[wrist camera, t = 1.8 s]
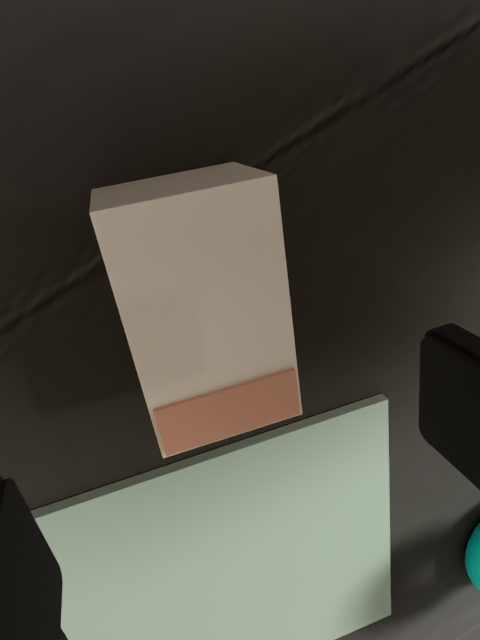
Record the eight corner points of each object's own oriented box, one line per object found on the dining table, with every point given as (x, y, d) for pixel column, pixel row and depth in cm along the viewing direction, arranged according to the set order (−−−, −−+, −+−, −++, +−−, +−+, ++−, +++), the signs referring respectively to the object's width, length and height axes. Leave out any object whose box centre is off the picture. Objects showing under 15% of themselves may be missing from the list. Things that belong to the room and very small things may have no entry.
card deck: (232, 161, 18) (279, 175, 13) (260, 354, 22) (304, 416, 17) (91, 188, 16) (89, 214, 12) (148, 386, 20) (163, 462, 16)
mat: (381, 393, 25) (387, 399, 24) (386, 607, 33) (391, 614, 33) (5, 519, 21) (2, 529, 20) (123, 722, 30) (123, 732, 29)
